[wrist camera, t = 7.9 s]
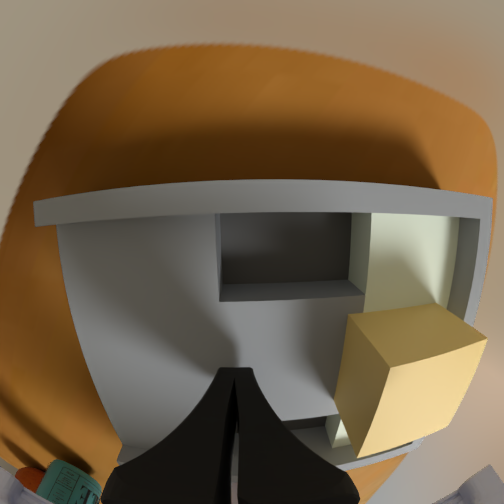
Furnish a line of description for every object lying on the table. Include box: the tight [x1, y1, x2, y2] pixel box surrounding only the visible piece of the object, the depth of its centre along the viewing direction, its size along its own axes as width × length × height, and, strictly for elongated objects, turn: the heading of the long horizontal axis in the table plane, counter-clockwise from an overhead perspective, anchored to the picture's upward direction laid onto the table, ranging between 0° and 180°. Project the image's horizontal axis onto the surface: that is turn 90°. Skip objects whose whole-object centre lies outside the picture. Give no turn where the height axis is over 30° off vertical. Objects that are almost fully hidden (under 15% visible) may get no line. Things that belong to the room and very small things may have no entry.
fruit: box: [15, 467, 45, 493], centre depth 15 cm, size 9×9×8 cm
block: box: [334, 303, 488, 458], centre depth 9 cm, size 5×5×4 cm
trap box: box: [33, 179, 493, 483], centre depth 12 cm, size 16×19×4 cm
